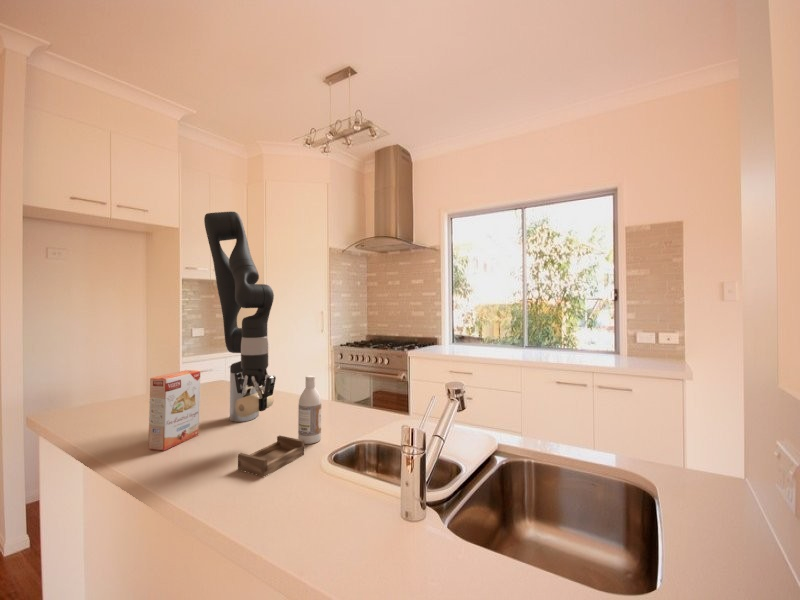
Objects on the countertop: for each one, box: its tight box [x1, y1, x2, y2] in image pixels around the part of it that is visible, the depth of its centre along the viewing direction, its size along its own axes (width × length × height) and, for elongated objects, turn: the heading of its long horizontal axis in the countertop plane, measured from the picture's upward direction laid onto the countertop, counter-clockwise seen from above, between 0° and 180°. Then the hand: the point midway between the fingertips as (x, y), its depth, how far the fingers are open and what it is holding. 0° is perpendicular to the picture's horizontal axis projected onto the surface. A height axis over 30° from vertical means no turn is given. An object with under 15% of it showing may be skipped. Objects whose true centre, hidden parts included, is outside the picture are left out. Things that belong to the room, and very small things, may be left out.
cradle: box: [237, 434, 305, 477], centre depth 101 cm, size 15×9×4 cm, turn 155°
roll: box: [235, 391, 275, 417], centre depth 110 cm, size 10×5×5 cm, turn 157°
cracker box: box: [148, 369, 201, 452], centre depth 114 cm, size 14×6×21 cm, turn 168°
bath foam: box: [297, 375, 322, 445], centre depth 116 cm, size 7×7×20 cm
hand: (254, 409), depth 110 cm, fingers closed on roll, 5 cm apart
